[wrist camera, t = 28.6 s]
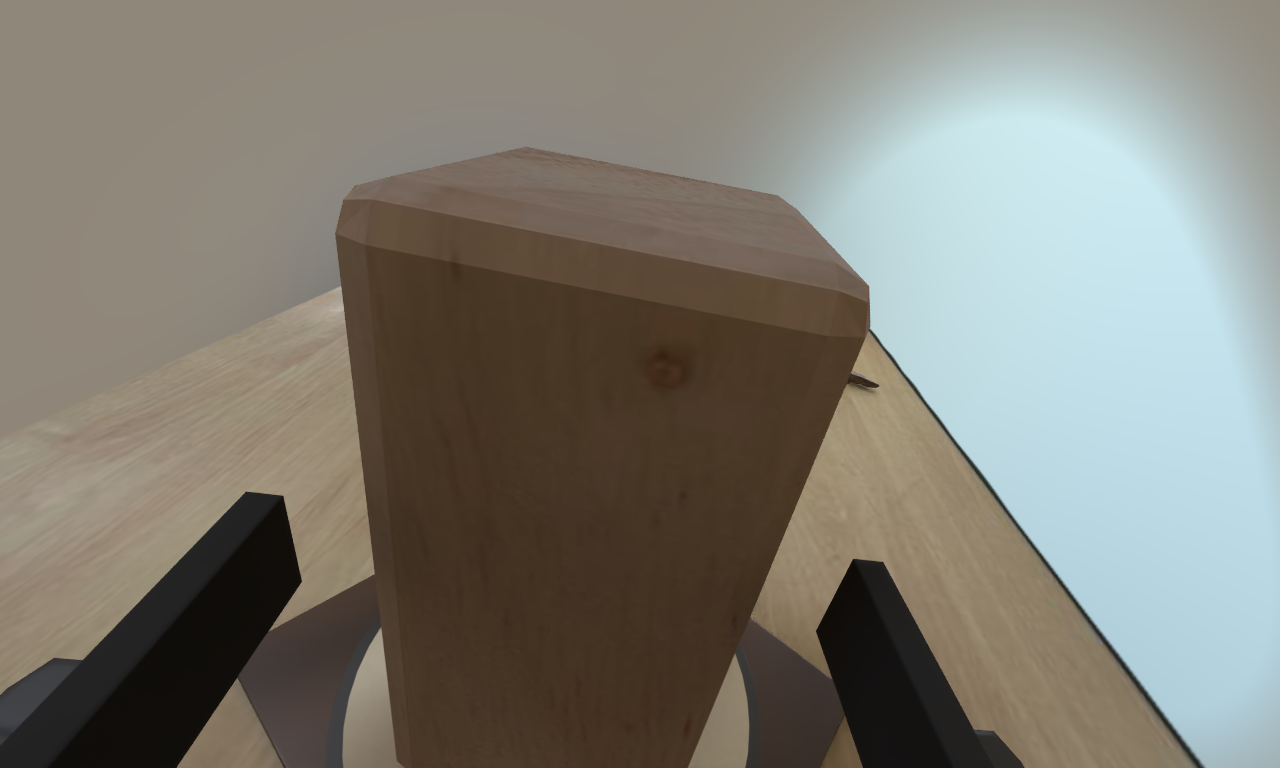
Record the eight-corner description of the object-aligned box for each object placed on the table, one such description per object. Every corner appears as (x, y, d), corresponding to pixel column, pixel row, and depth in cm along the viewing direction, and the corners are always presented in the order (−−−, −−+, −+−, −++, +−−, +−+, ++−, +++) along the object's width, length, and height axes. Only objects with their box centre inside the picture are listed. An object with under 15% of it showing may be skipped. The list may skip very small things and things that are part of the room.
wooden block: (669, 843, 18) (912, 291, 8) (385, 783, 18) (299, 171, 8) (680, 600, 27) (803, 196, 17) (489, 561, 27) (505, 139, 17)
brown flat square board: (228, 660, 21) (225, 651, 21) (558, 478, 34) (559, 471, 34) (563, 1308, 11) (565, 1307, 11) (850, 700, 24) (855, 693, 24)
